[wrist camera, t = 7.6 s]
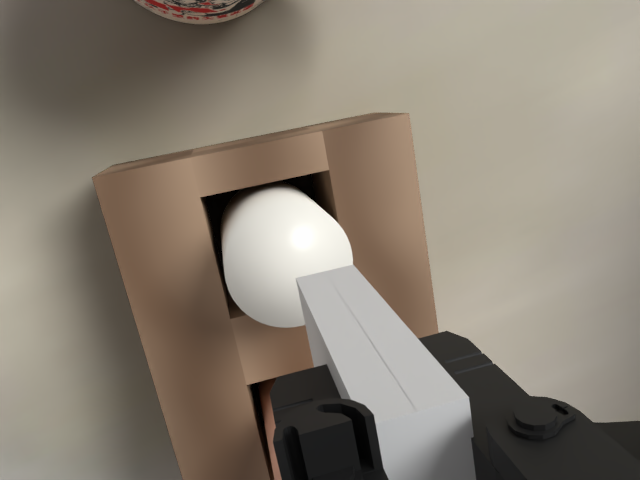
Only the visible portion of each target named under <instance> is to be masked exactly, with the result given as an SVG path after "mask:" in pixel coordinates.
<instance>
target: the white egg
mask: <svg viewBox="0 0 640 480" xmlns="http://www.w3.org/2000/svg"><path fill="white" fill-rule="evenodd" d="M220 234H221V244H222V254H223V264H224V274H225V280H226V284H227V287H228V290H229V292H230V294H231V297H232V298H233V300H234V301H235V303H236V304H237V305H238V306H239V308H240V309H241V310H242V311H243V312H244V313H246V314H247V315H248V316H250V317H251V318H253V319H254V320H256V321H258V322H260V323H263V324H266V325H269V326H274V327H282V328H290V327H298V326H303V325H305V321H304V316H303V311H302V306H301V302H300V297H299V292H298V287H297V282H296V278H298V277H302V276H307V275H311V274H315V273H319V272H324V271H328V270H332V269H336V268H341V267H345V266H349V265H353V256H352V250H351V246H350V243H349V240H348V238H347V236H346V234H345V232H344V230H343V229H342V228H341V226H340V225H339V224H338V223H337V222H336V221H335V220H334V219H333V218H332V217H331V216H330V215H329V214H328V213H327V212H325V211H324V210H323V209H322V208H321V207H320V206H319V205H317V204H316V203H315V202H314V201H313V200H312V199H311V198H309V197H308V196H307V195H306V194H305V193H304V192H303V191H301V190H300V189H299V188H297V187H295V186H294V185H292V184H289V183H287V182H283V181H275V182H270V183H265V184H261V185H256V186H251V187H247V188H242V189H241V190H240V191H239V192H237V193H236V194H235V195H234V196H233V197H232V198H231V200H230V201H229V202H228V204H227V206H226V208H225V210H224V212H223V215H222V219H221V226H220Z"/></svg>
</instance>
